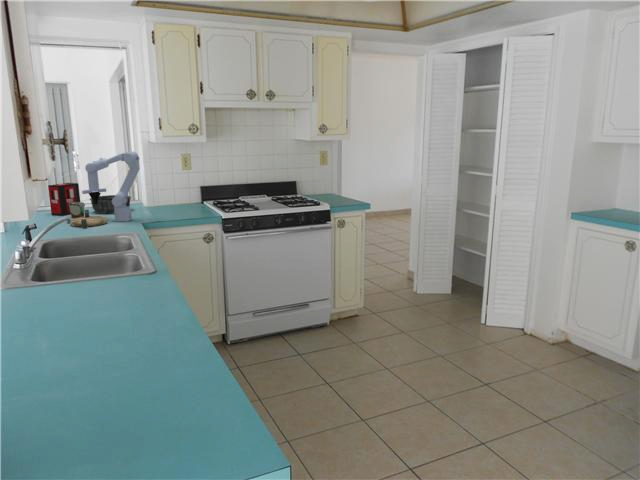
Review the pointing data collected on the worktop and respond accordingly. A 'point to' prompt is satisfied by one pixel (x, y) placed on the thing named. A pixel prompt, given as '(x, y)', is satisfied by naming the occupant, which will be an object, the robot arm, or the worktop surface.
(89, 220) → the turntable
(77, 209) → the food container
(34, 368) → the worktop surface
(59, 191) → the cleaning product box
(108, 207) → the bundt pan
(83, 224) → the pointer post
